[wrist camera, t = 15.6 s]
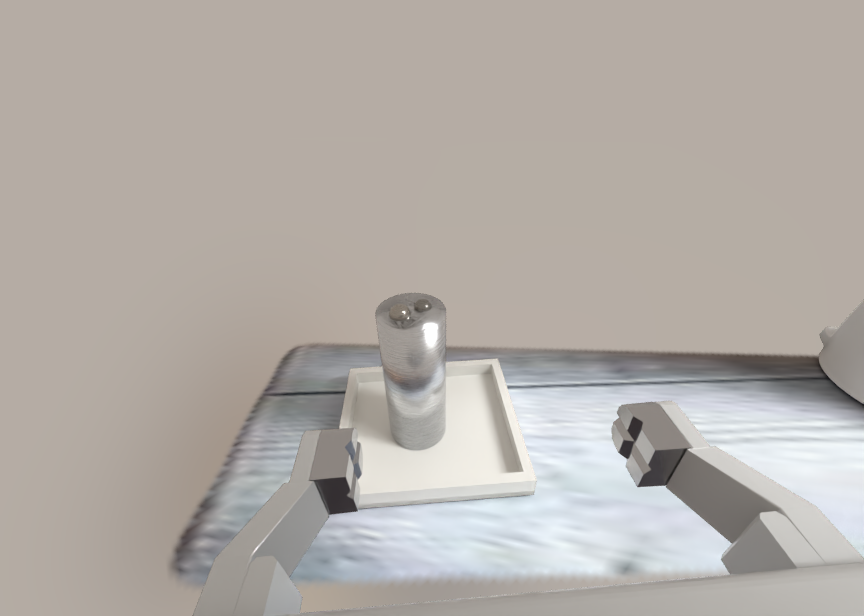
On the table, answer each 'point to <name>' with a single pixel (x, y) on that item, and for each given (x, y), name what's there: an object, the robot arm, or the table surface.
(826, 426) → the table surface
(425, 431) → the metal cup with balls
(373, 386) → the cream tray
